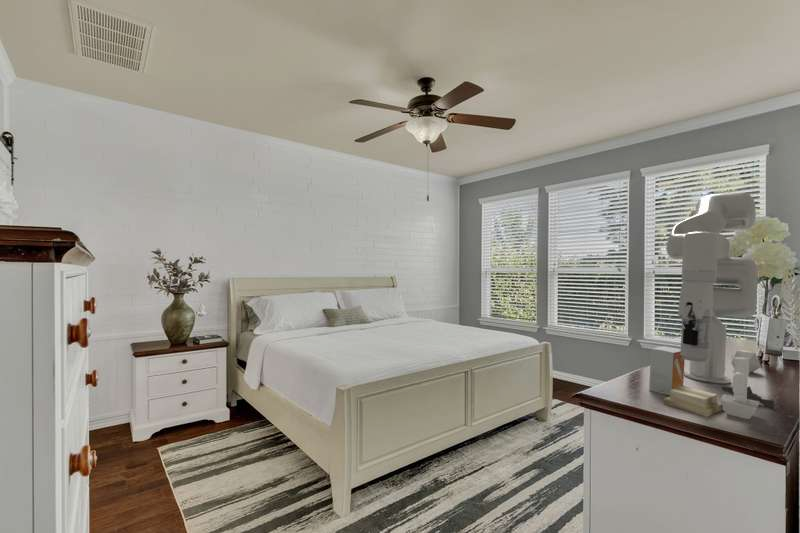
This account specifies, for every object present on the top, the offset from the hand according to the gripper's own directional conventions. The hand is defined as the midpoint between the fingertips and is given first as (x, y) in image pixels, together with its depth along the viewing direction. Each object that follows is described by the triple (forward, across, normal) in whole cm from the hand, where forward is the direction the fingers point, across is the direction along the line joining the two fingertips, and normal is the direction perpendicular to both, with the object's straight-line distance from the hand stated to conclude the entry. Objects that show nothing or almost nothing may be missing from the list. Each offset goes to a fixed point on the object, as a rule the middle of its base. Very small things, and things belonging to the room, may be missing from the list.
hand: (695, 342), depth 106 cm
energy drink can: (+5, 0, 0) cm, 5 cm away
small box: (+18, -8, -10) cm, 22 cm away
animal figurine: (+18, -19, +6) cm, 27 cm away
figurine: (+18, -5, +8) cm, 20 cm away
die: (+17, -62, -7) cm, 65 cm away
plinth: (+18, 0, 0) cm, 18 cm away
